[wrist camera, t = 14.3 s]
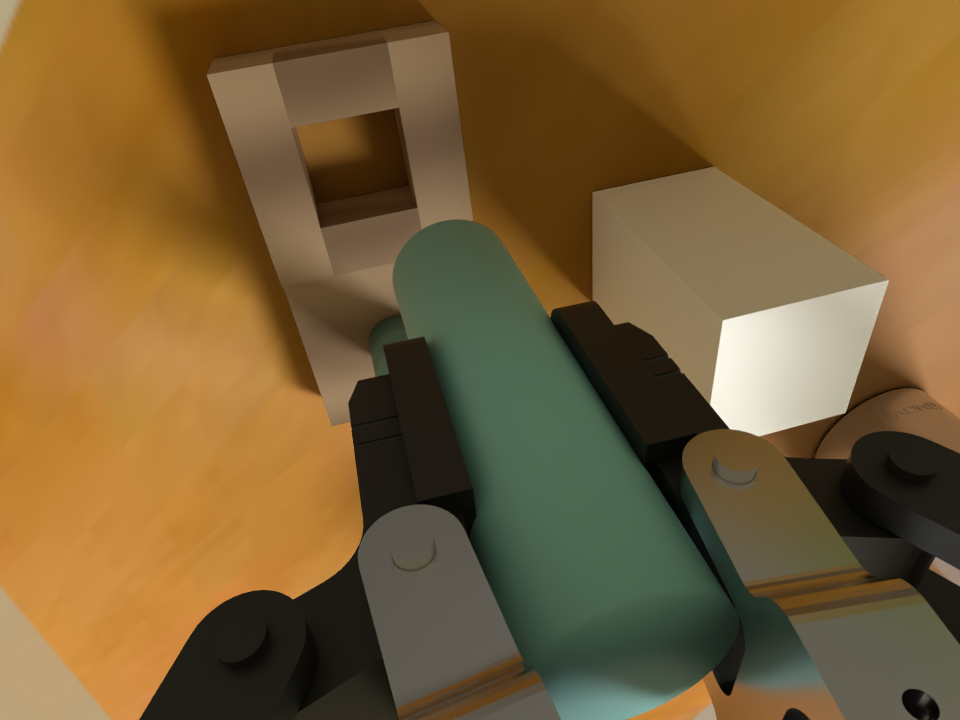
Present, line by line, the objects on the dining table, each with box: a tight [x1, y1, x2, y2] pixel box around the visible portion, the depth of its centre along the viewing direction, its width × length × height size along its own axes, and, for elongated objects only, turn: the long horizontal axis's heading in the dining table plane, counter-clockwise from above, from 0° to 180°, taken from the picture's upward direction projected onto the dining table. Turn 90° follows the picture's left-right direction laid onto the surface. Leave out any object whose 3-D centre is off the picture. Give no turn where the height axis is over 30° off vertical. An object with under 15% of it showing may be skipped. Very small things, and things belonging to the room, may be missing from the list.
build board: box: [207, 20, 473, 287], centre depth 24 cm, size 8×8×2 cm
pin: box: [392, 219, 740, 720], centre depth 10 cm, size 3×3×9 cm
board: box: [283, 263, 408, 426], centre depth 26 cm, size 8×8×11 cm
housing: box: [592, 167, 889, 437], centre depth 27 cm, size 6×6×11 cm
